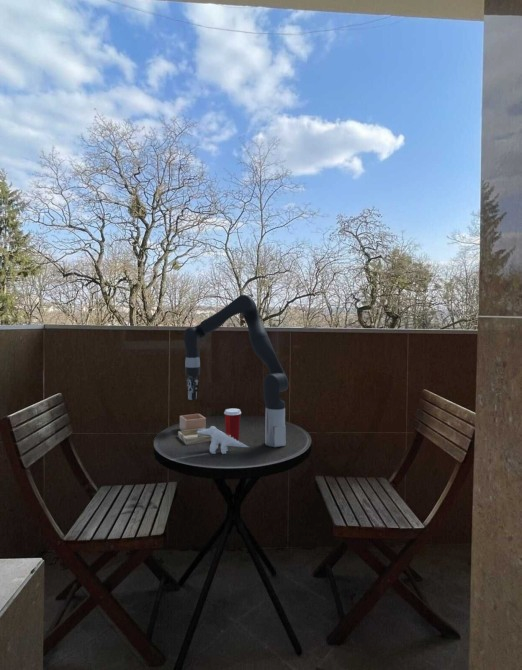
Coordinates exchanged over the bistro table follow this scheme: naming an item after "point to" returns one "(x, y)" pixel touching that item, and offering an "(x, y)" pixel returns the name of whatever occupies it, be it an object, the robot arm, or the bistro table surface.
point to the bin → (192, 422)
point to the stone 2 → (200, 433)
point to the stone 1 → (191, 395)
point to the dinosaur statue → (220, 440)
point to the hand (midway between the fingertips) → (192, 398)
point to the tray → (192, 437)
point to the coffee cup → (232, 422)
